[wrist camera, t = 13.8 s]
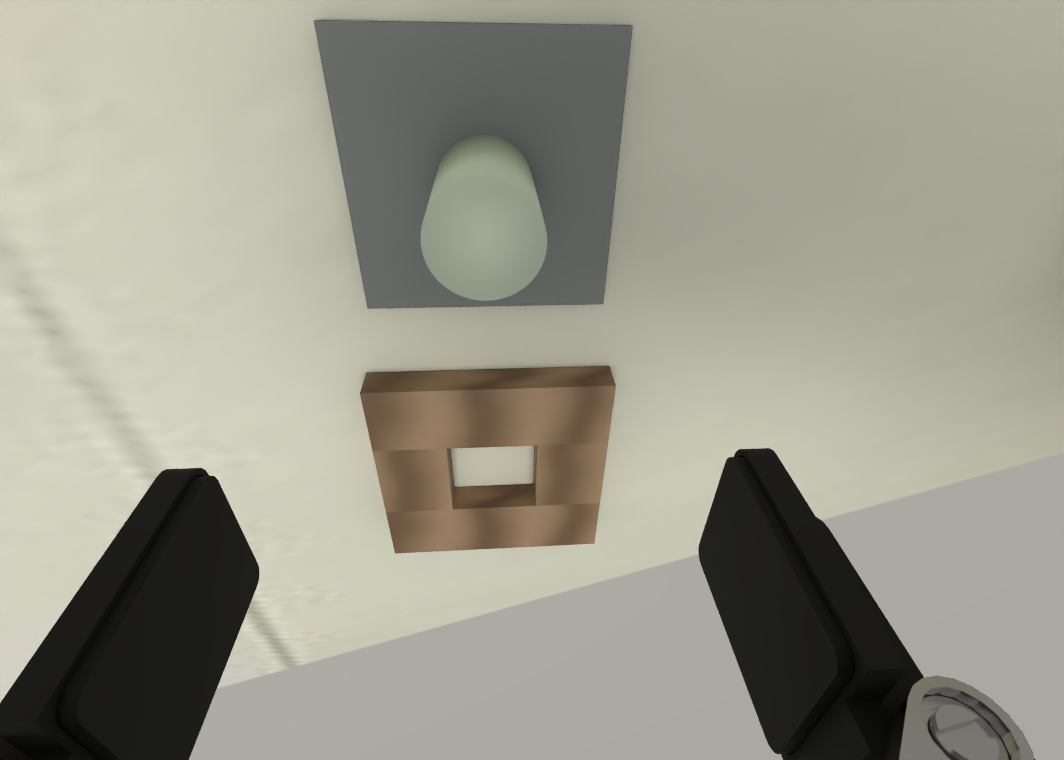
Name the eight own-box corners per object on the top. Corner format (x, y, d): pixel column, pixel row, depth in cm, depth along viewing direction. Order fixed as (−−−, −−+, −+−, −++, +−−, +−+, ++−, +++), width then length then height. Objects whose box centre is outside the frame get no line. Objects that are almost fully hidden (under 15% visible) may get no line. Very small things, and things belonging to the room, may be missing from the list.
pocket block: (609, 366, 35) (615, 385, 34) (589, 521, 45) (594, 543, 43) (366, 372, 34) (360, 393, 33) (398, 530, 44) (395, 553, 42)
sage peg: (533, 133, 26) (549, 179, 20) (532, 232, 29) (545, 299, 23) (431, 133, 26) (413, 179, 19) (440, 233, 29) (427, 301, 22)
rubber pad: (629, 25, 24) (632, 25, 24) (601, 299, 32) (603, 304, 32) (317, 20, 23) (313, 20, 23) (369, 303, 32) (367, 308, 31)
